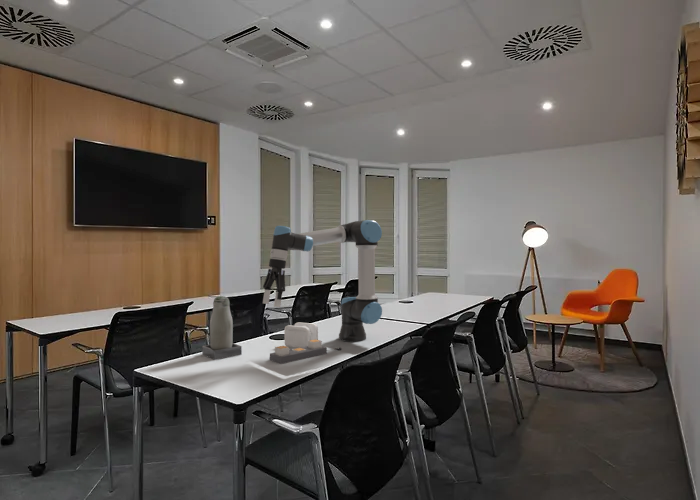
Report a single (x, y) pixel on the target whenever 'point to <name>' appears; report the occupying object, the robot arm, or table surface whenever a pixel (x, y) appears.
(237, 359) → the table surface
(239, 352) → the bottle coaster rim
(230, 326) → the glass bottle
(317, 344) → the button
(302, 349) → the button
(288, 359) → the power strip
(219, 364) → the table surface
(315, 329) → the cable organizer
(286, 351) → the button
